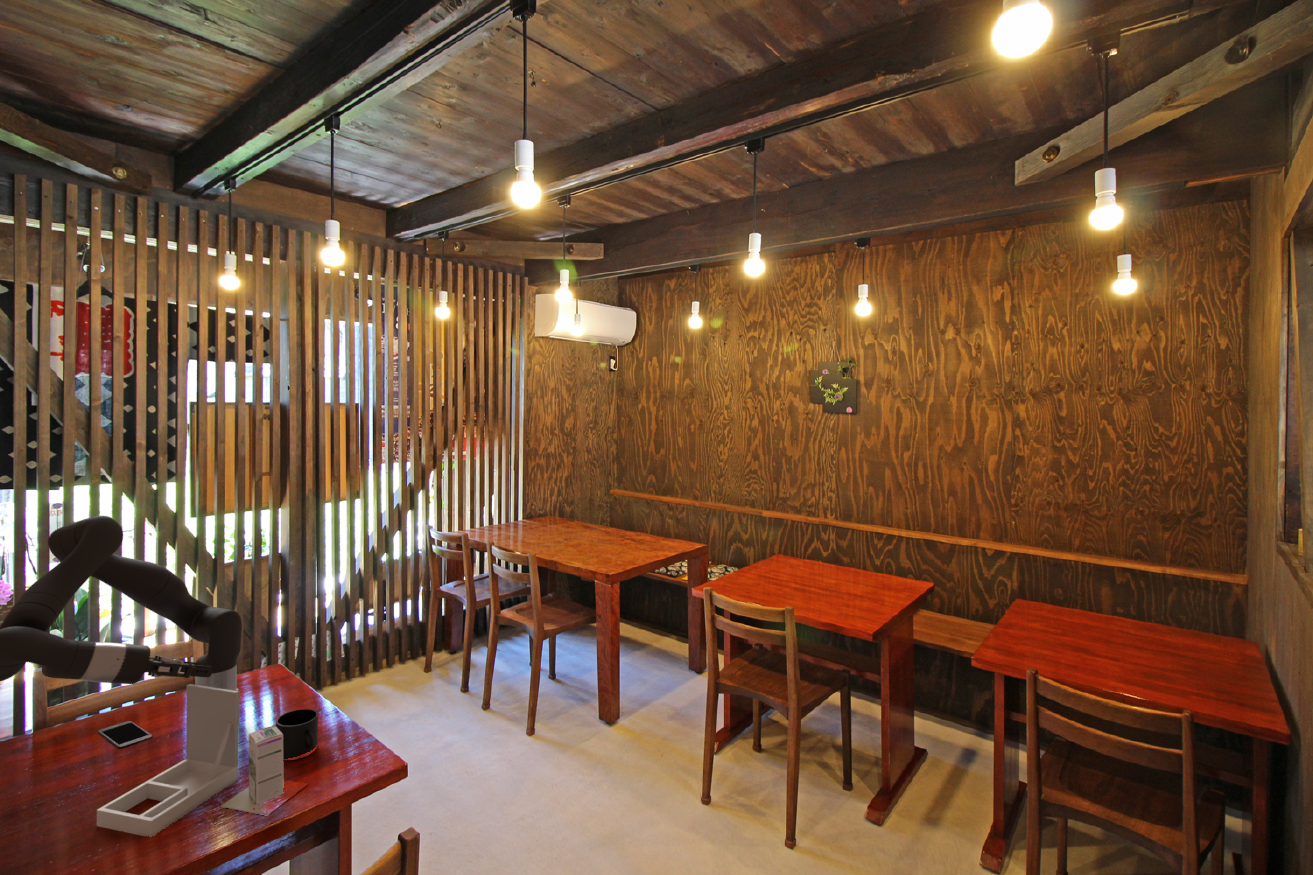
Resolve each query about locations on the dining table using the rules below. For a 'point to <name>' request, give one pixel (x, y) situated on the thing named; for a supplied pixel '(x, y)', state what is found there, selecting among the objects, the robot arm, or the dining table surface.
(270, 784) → the syrup box
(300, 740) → the mug
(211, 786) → the white l-shaped holder
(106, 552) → the robot arm
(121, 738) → the smartphone
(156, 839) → the dining table surface
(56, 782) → the dining table surface
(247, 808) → the rubber mat
